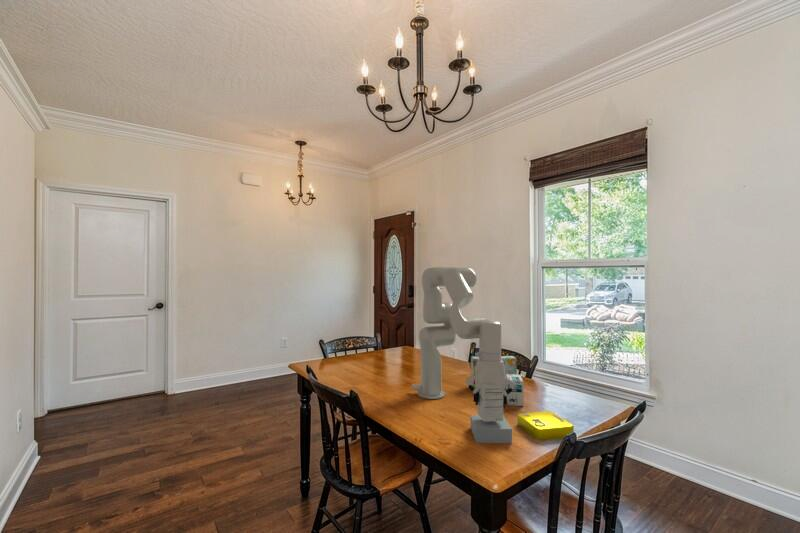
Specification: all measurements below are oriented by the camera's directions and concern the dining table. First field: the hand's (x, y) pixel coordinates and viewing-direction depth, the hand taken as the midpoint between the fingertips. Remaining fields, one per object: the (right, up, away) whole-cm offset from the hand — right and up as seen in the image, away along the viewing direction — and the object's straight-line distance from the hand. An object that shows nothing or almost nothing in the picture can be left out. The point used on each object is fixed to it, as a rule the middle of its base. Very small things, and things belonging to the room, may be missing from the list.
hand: (490, 405), depth 135 cm
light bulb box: (+19, -11, +33) cm, 40 cm away
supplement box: (0, -5, 0) cm, 5 cm away
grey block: (0, -11, 0) cm, 11 cm away
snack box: (+14, -11, +53) cm, 56 cm away
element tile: (+21, -11, +4) cm, 24 cm away
